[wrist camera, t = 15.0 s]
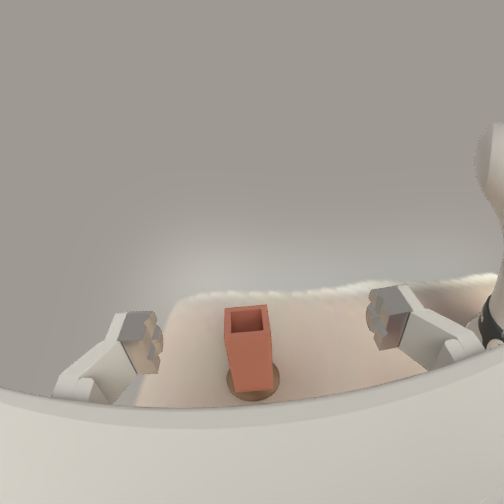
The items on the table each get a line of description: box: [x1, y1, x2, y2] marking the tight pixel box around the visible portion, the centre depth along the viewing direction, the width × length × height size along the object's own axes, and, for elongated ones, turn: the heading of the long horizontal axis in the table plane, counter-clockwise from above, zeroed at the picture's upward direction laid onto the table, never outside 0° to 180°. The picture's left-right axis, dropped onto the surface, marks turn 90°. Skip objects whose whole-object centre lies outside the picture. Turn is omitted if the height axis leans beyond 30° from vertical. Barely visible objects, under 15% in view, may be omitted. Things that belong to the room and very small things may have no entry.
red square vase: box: [224, 305, 274, 393], centre depth 41 cm, size 6×6×12 cm
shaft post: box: [227, 363, 279, 401], centre depth 43 cm, size 8×8×8 cm
